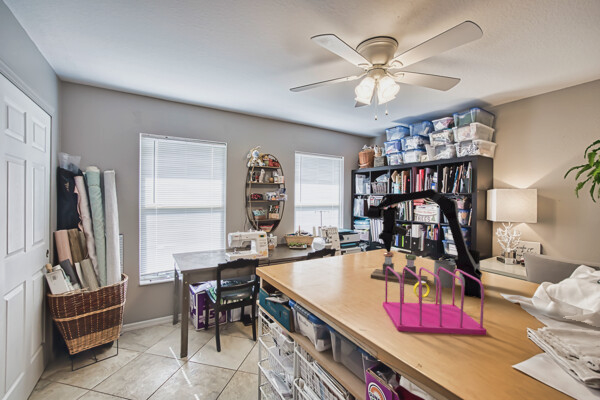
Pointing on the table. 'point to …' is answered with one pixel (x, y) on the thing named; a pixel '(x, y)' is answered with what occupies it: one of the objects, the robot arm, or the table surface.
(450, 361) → the table surface
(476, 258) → the glass holder
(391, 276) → the dark brown stand
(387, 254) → the terracotta plunger
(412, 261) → the olive plunger
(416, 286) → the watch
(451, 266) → the cup
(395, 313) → the file sorter
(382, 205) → the robot arm
